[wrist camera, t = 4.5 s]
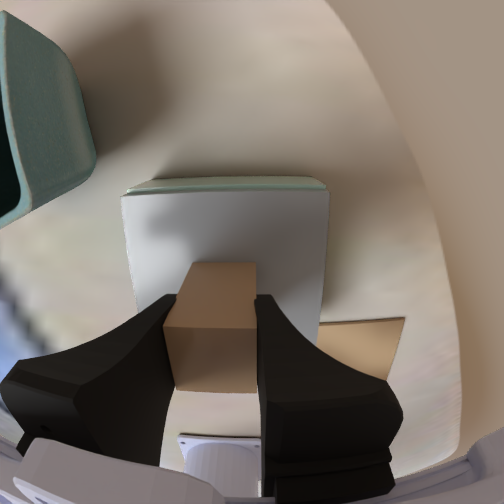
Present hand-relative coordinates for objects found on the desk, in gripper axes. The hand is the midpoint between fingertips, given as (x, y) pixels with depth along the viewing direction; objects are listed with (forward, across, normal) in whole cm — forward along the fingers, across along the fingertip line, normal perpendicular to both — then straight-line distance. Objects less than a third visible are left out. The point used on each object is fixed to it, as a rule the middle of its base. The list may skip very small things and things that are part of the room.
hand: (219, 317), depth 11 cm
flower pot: (+7, +11, -8) cm, 15 cm away
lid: (+3, 0, 0) cm, 3 cm away
